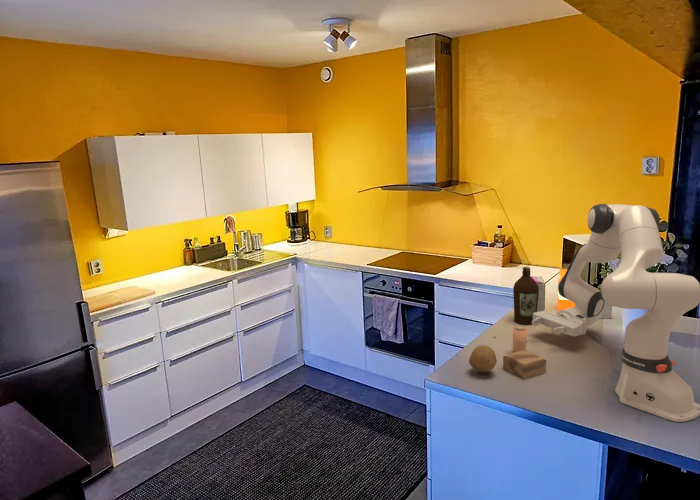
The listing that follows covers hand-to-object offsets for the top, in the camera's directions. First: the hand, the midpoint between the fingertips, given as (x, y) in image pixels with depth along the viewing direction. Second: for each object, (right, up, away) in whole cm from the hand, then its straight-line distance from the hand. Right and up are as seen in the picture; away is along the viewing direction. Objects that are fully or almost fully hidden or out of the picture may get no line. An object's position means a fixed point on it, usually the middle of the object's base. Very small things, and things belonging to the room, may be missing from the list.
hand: (542, 326), depth 184 cm
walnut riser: (-14, -12, -18) cm, 26 cm away
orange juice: (+29, +1, +42) cm, 52 cm away
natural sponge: (-28, -13, -18) cm, 36 cm away
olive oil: (+4, -3, +29) cm, 30 cm away
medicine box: (+39, -1, +30) cm, 49 cm away
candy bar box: (+14, 0, +40) cm, 43 cm away
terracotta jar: (-11, -10, -4) cm, 15 cm away
